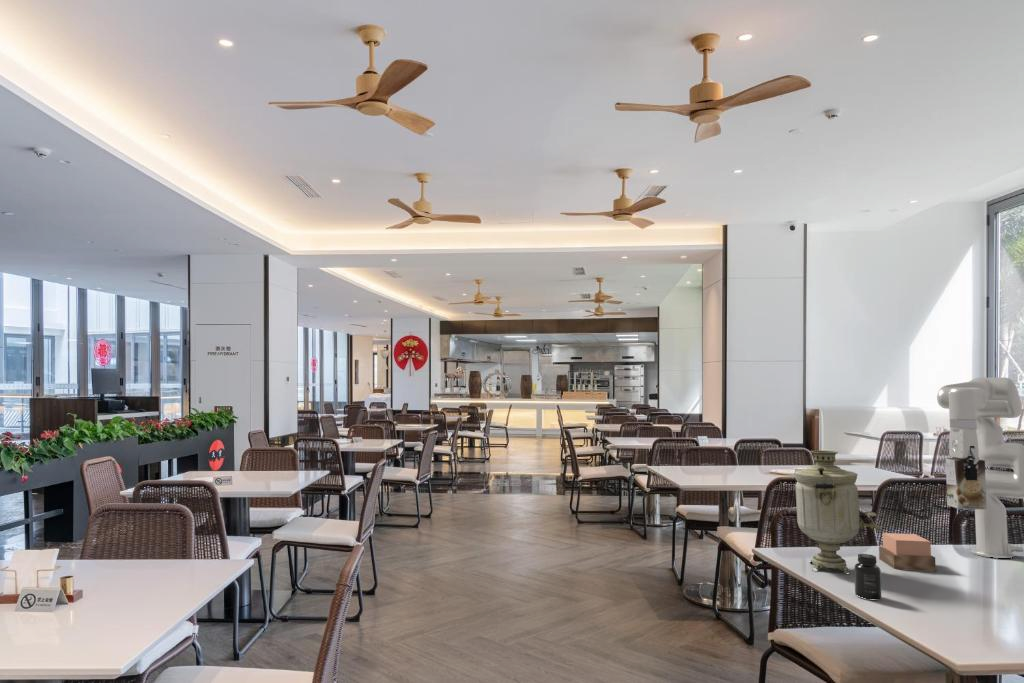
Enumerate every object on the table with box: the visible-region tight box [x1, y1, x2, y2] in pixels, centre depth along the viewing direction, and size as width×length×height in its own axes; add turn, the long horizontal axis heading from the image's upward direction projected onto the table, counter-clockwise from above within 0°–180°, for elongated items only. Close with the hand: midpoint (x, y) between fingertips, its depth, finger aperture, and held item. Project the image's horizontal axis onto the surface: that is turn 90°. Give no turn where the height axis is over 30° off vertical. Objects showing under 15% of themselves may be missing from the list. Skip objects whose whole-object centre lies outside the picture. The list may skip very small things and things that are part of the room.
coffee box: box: [945, 457, 987, 510], centre depth 212 cm, size 9×6×16 cm
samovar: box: [793, 450, 883, 574], centre depth 217 cm, size 30×26×40 cm
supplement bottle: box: [853, 553, 882, 600], centre depth 189 cm, size 7×7×12 cm
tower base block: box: [878, 545, 937, 572], centre depth 224 cm, size 13×13×5 cm
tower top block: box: [882, 532, 932, 556], centre depth 224 cm, size 11×11×5 cm
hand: (965, 478), depth 212 cm, fingers closed on coffee box, 6 cm apart
